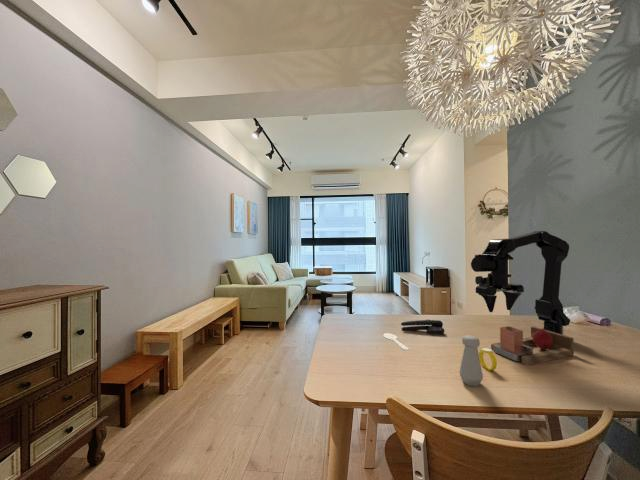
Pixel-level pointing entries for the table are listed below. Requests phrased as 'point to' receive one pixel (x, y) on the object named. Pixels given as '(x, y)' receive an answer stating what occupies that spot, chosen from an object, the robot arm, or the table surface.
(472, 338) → the salt shaker
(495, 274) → the robot arm
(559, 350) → the bench
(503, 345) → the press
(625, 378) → the table surface
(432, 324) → the can opener
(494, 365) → the watch
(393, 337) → the spoon
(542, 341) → the onion
